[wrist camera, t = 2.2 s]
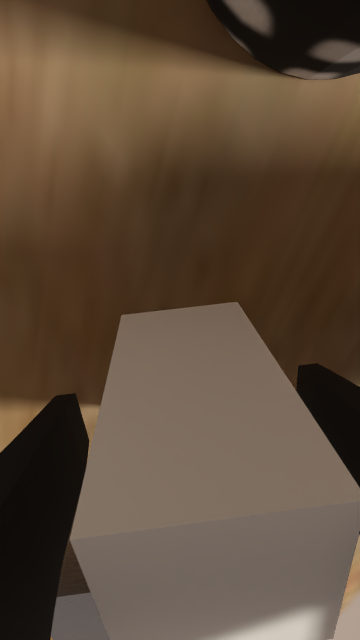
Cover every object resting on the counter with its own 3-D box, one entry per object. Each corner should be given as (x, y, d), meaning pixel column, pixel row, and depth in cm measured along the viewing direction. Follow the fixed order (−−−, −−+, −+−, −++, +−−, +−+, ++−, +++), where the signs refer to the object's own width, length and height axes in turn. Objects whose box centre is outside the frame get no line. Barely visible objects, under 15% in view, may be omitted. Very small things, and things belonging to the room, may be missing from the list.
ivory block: (237, 301, 12) (367, 500, 5) (238, 394, 14) (332, 638, 7) (121, 314, 12) (69, 539, 5) (138, 406, 14) (121, 670, 6)
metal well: (285, 458, 16) (331, 558, 12) (276, 579, 20) (307, 680, 16) (63, 487, 15) (31, 600, 11) (106, 603, 20) (94, 712, 16)
